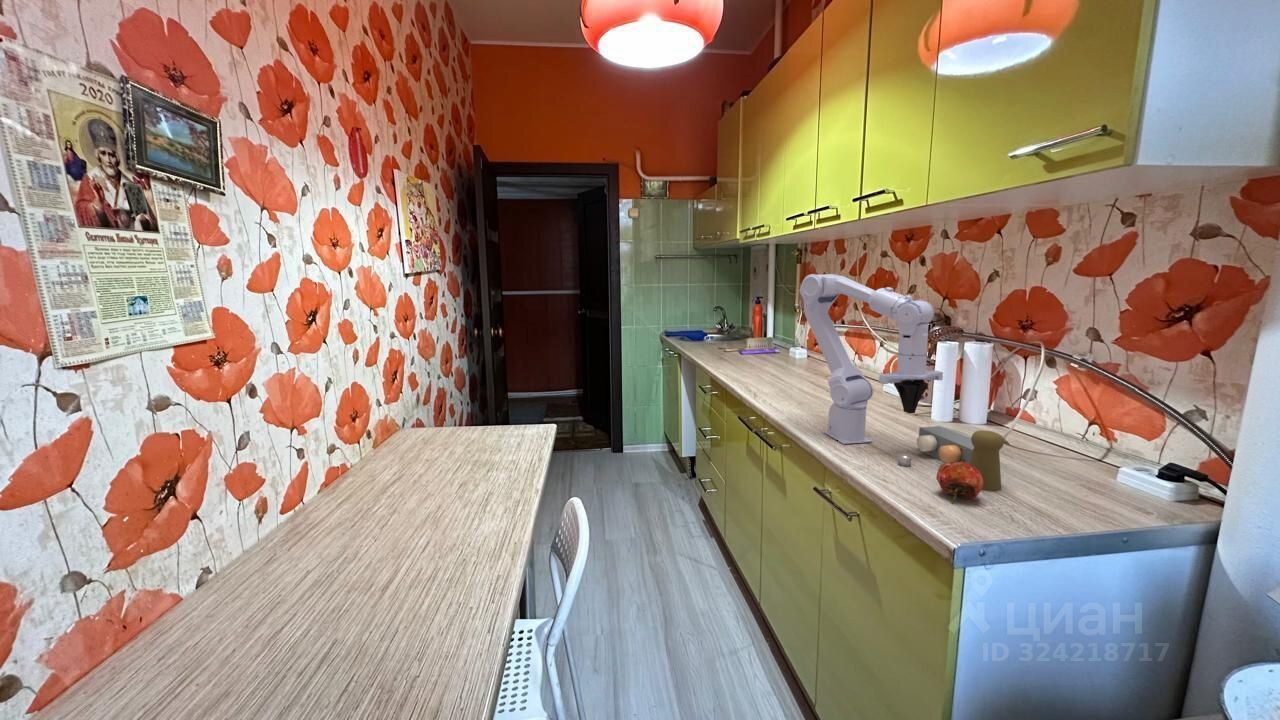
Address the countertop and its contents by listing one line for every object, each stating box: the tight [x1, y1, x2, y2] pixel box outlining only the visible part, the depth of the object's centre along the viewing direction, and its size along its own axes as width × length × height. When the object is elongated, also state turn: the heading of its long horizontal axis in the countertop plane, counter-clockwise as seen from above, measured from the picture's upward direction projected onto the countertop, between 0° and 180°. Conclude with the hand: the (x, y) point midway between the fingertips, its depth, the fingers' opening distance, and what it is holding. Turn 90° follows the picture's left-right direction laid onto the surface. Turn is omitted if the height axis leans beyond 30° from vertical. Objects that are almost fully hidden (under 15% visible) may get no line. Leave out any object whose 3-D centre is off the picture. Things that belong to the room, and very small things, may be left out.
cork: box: [970, 429, 1005, 492], centre depth 97 cm, size 6×6×11 cm
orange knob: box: [939, 445, 962, 463], centre depth 107 cm, size 4×10×4 cm, turn 98°
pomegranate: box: [936, 460, 983, 505], centre depth 93 cm, size 7×7×10 cm
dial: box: [897, 453, 913, 468], centre depth 109 cm, size 3×3×2 cm
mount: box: [917, 425, 974, 464], centre depth 111 cm, size 16×6×6 cm, turn 9°
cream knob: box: [916, 435, 938, 453], centre depth 114 cm, size 4×10×4 cm, turn 99°
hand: (909, 412), depth 113 cm, fingers closed
